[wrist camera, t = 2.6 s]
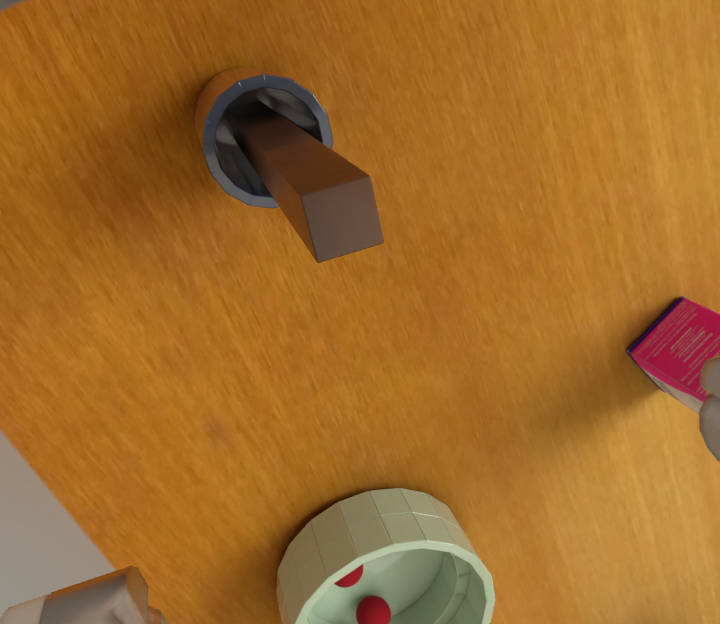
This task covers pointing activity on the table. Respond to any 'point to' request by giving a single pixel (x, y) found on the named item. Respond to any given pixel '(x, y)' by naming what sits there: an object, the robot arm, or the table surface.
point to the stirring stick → (309, 183)
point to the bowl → (385, 563)
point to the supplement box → (679, 350)
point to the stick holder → (218, 133)
